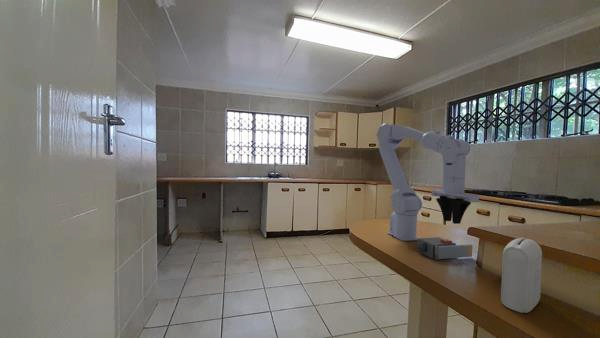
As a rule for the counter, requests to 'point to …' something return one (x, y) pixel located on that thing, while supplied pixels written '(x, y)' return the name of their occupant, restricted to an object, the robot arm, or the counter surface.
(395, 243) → the counter surface
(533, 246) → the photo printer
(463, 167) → the robot arm
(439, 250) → the side door
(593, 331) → the counter surface
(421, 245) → the grey low box
